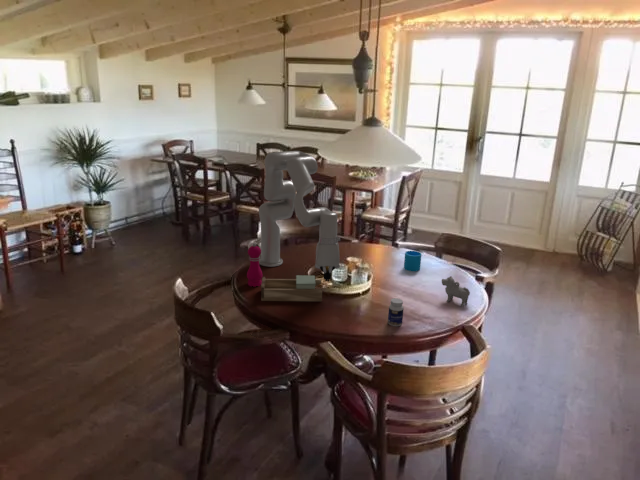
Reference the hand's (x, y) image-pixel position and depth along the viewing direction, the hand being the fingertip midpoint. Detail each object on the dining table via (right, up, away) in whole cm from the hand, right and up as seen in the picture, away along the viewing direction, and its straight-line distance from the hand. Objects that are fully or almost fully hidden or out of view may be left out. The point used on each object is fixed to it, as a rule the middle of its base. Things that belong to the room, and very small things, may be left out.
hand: (327, 280), depth 229 cm
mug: (+44, +3, +39) cm, 59 cm away
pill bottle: (+27, -16, -20) cm, 37 cm away
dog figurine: (+56, -10, +1) cm, 56 cm away
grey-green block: (-10, -5, +2) cm, 11 cm away
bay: (-16, -7, +2) cm, 17 cm away
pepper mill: (-33, -3, +12) cm, 35 cm away
